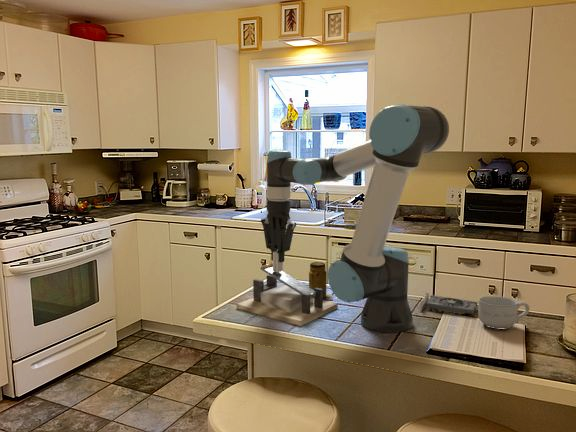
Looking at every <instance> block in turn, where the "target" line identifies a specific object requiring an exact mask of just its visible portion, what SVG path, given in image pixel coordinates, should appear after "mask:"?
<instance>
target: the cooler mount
mask: <svg viewBox="0 0 576 432" xmlns="http://www.w3.org/2000/svg"><path fill="white" fill-rule="evenodd" d="M252 282H253V283H252V285H253V288H252V289H253V293H252V294H253V297H252V298H249V299H245V300H244V301H241V302H238V303H236V310H237V309H238V310H241V311H245V312H248V313H252V314H256V315H260V316H263V317H267V318H271V319H274V320H278V321H280V322H285V323H289V324H292V325H294V326H295V325H296V326H299V327H302V326H304V325H306V324H309V323H310V322H312V321H314V320H316V319H318V318H320V317H323V316H324V315H326V314H328V313H330V312H332V311H334V310H337V309H338V308H339V304H338V302H337V303H336V302H333V301H329V300H323V289H320V288H315V289H314V291H317V292H318V293H319V295H318V296H316V297H314V298H311V299H310V294H307V293H302V295H301V294H299V293H298V292H296V291H294V290H293V289H291V288H290V287H288V286H287V285H285V284H282V285H279V286H278V280H277V279H275V278H274V277H272V276H271V275H269V274H267V275H266V284H264V282H265V281H264V280H261V279H257V278H255V279H252Z"/></svg>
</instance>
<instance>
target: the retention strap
mask: <svg viewBox="0 0 576 432" xmlns="http://www.w3.org/2000/svg"><path fill="white" fill-rule="evenodd" d="M260 270H261V271H262V272H264V273H266V274H267V275H271V276H272V277H274V278H275V279H277V281H278V282H280V283H281V284H282V285H284V284H285V285H287V286H288V287H290V288H291V289H293V290H294V291H296V292H298V293H299V294H301V295H302V293H307V294H310V299H311V298H313V297H316V296H318V295H319V293H318V292H317V291H314V290H313V289H311V288H309V285H308V286H307V285H306V284H304V283H303V282H301V281H299V280H298V279H296V278H294V277H293V276H291V275H290V274H288V273H287V272H285V271H281V272H278V273H277V272H273V262H270V263H267V264H264V265H261V267H260Z"/></svg>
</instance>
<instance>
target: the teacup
mask: <svg viewBox="0 0 576 432" xmlns="http://www.w3.org/2000/svg"><path fill="white" fill-rule="evenodd" d="M477 301H478V302H477V309H478V310H477V311H478V318H479V319H478V320H479V321H480V322H481V323H482V324H483V325H484V324H485V325H487V326H490V327H494V328H508V329H510V328H511V327H513V326H514V325H515V324H516V322H518V321H519V320H520V319H522V318H523V317H525V316H527V315H528V314H529V313H530V306H529V305H530V304H528V303H527V302H525V301H517V299H513V298H510V297H505V296H499V295H498V296H497V295H489V296H480V297H478V299H477ZM523 306H524V307H525V310H524V311H523V312H522V313H520V314H518V311H519V308H520V307H523ZM485 325H484V326H485ZM509 327H510V328H509Z"/></svg>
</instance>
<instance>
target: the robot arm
mask: <svg viewBox="0 0 576 432" xmlns="http://www.w3.org/2000/svg"><path fill="white" fill-rule="evenodd" d="M449 134H450V125H449V121H448V119H447V117H446V116H445V114H444V113H443V112H442V111H441V110H439V109H438V108H435V107H432V106H424V105H423V106H419V105H411V104H410V105H408V104H397V105H396V104H395V105H390V106H387V107H384V108H383V109H381V110H380V111H379V112H377V114H376V115H375V116H374V118H373V120H371V124H370V127H369V132H368V136H369V137H368V138H369V139H370V140H367V141H364V142H363V143H360V144H357V145H355V146H353V147H351V148H348V149H345V150H343V151H339V152H337V153H336V154H333V155H329V156H328V157H315V158H314V157H310V158H308V157H307V158H295V157H294V158H293V157H292V153H291V151H290V150H280V149H279V150H278V149H277V150H269V151H268V152H267V159H266V199H267V200H266V212H267V214H266V217H264V218H261V219H260V223H261V225H262V227H263V234H264V241H265V247H266V249H268V250H270V254H271V255H270V256H271V261H272V263H273V272H277V273H278V272H281V271H283V269H284V267H283V266H284V265H283V264H284V262H285V252H289V251H290V250H291V246H292V240H293V236H294V230H295V229H296V226H297V223H296V222H293V221H292V220H291V216H290V212H291V200H290V199H291V185H292V183H293V184H298V185H302V186H313V185H315V184H316V183H323V182H325V183H327V182H337V181H343V180H345V179H346V178H347V177H349V176H350V175H353V174H357V173H358V172H362V171H365V170H368V169H371V168H373V171H372V174H371V177H370V180H369V183H368V188H367V190H366V194H365V196H364V200H363V202H362V207H361V210H360V213H359V217H358V219H357V223H356V226H355V230H354V233H353V236H352V239H351V243H347V244H346V245H345V246H344V247H343V249H342V252H341V255H340V259H339V260H335V261H333V262H332V263H331V264H330V265H329V268H328V270H327V282H328V285H329V287H330V290H331V291H332V294H334V295H335V297H336V298H337V299H339V300H340V301H342V302H344V303H349V304H350V303H355V302H357V303H358V302H361V301H362V300H365V299H366V300H365V302H364V305H363V308H362V311H361V313H360V324H361V325H362V326H363V327H365V328H366V329H369V330H371V331H374V332H375V331H376V332H381V333H401V332H405V331H408V330H410V329H412V327H413V325H414V324H413V323H414V319H413V314H412V311H411V308H410V304H409V301H408V291H409V289H408V288H409V265H410V262H409V253H408V251H407V250H405V249H404V248H400V247H394V246H387V245H386V242H387V239H388V236H389V233H390V230H391V228H392V227H391V226H392V225H393V222H394V220H395V219H394V218H395V215H396V213H397V209H398V207H399V203H400V201H401V198H402V194H403V192H404V188H405V186H406V182H407V179H408V177H409V173H410V172H411V171H413V170H415V169H418V167H419V164H420V161H421V158H422V156H423V155H425V154H429V153H430V154H431V153H433V152H436V151H438V150H439V149H441V148H442V146H444V145H445V143H446V142H447V140H448V138H449ZM283 272H284V271H283Z"/></svg>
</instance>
